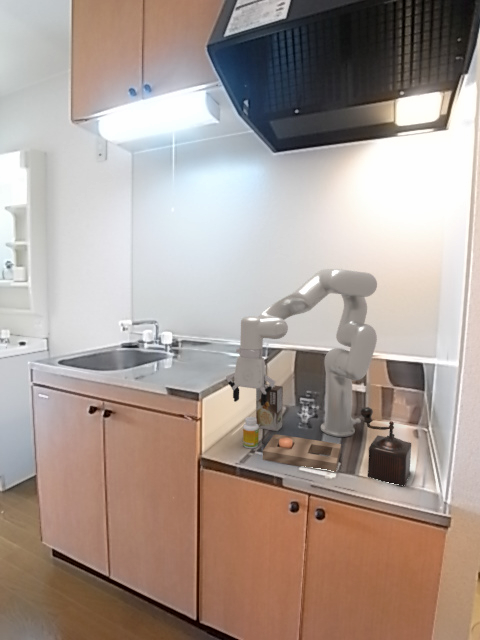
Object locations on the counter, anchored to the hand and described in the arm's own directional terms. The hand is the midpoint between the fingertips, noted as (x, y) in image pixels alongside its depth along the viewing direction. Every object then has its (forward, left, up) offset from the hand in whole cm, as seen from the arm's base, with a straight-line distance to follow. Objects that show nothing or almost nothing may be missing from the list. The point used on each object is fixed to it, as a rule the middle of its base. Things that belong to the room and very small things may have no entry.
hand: (249, 402), depth 131 cm
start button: (-9, +10, -14) cm, 19 cm away
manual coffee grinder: (-29, +32, -16) cm, 46 cm away
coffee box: (-15, -12, -16) cm, 25 cm away
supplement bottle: (-1, 0, -16) cm, 16 cm away
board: (-13, +14, -16) cm, 24 cm away
